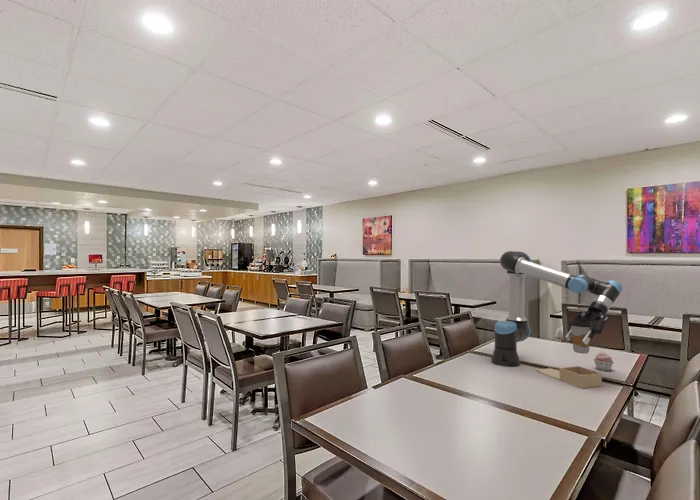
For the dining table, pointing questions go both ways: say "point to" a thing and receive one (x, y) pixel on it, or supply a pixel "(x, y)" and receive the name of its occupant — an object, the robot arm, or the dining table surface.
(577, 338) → the coffee cup
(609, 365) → the cupcake
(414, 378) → the dining table surface
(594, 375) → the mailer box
